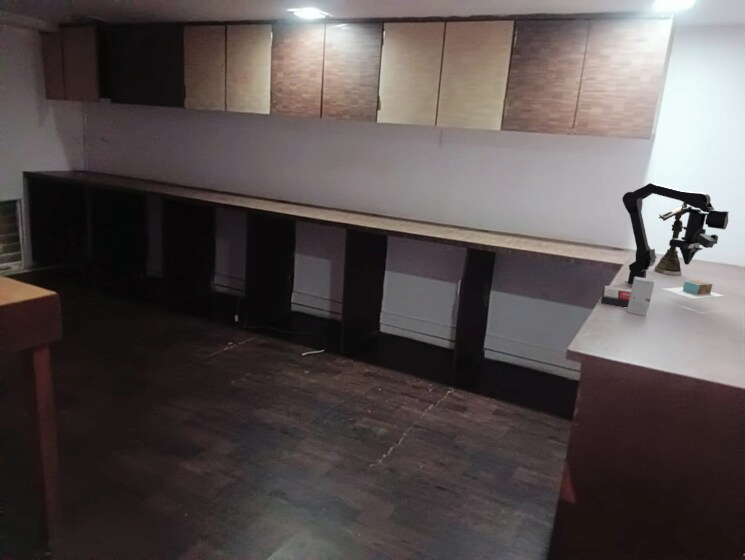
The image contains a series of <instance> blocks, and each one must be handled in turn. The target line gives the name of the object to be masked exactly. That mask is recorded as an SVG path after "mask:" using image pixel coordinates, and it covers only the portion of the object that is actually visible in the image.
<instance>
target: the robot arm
mask: <svg viewBox="0 0 745 560" xmlns="http://www.w3.org/2000/svg"><path fill="white" fill-rule="evenodd" d="M653 194H654V195H658V196H661V197H665V198H669V199H674V200H677V201H680V202H683V203H686V204H687V207H688V208H687V209H686V210H684V212H687V213H688V217H687V223H686V226H684V227H683V230H684V232H685V233H684V236H682V237H681V238H678V239H672V238H671V239H670V240H669V243H668V246H669V247H670V246H674V247H676V248H679V250H680V254H681V256H682V260H683V262H684V265H687V266H688V265H690V263H691V261H692V259H693V258H694V256H695V255H696V253H698V252H699V251H702V250H703V249H704V248H705V249H707V248H711V249H712V248H713V247H714V245H715V244H716V245H717V244H718V240H719V236H718V235H717V234H711V235H710V234H707V233H706V228H704V226H705V225H706V226H707V227H708V228H711V229H717V230H724V231H725V230H726V229H727V226H728V224H729V214H730V213H729V211H726V210H723V211H722V210H715V208H714V206H713V204H712V203H711V197H710V195H709V194H708V193H707V192H696V191H695V192H694V191H685V190H682V189H681V190H680V189H677V188H673V187H670V186H665V185H661V184H658V183H654V182H650V183H647V184H646V185H644V186H642V187H640V188H638V189H636V190H634V191H628V192H625V193H624V194H623V196H622V198H621V199H622V202H623V205H624V207H625V210H626V211H627V212H628V215H629V218H630V223H631V227H632V231H633V235H634V236H633V237H634V240H635V246H636V249H635V250H636V251H635V261H633V262H632V263H630V264H629V265H628V268H629V269H628V271H629V275H628V280H627V281H625V280H624V283H627V284H631V285H633V281H634V277H640V278H646V279H647V272H648V270H649V269H650V267H653V266H654V265H655V264H656V259H658V258H657V256H656V250H655V248H651V247H650V245H649V242H648V237H647V233H646V227H645V224H644V218H643V215H642V210H643V200H645V199H646V198H648V197H649V196H651V195H653ZM687 213H686V214H687ZM701 246H702V247H701ZM703 247H704V248H703Z"/></svg>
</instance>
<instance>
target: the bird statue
mask: <svg viewBox="0 0 745 560" xmlns="http://www.w3.org/2000/svg"><path fill="white" fill-rule="evenodd" d="M688 207H689V206H688V204H686V203H684V202H683V203H682V205H680V207H677V208H675V209H674V210H668V211H667V212H665V213H662V214H661V213H659V214H658V215H659V217H658V219H661V220H662V221H663V222H665V221H668V219H670V218H673V217H674V219H675V221H673V223H672V224H671V231H672V237H671V239H679V236H680V233H681V232H683V230H684V227H685V226H684V224H683V221H682V220H681V218H682V216H683V215H685V214H687V212H684V210H686V209H687V208H688ZM678 253H679V251H678V250H677V247H674V246H670V245H669V248H668V249H667V250H666V252H665V254H664V255H663V256H662V257H661V258H660V260H659V261H658V263H657V264H656V265H655V267H654V272H656V273H657V272H658V273H661V274H664V275H670V276H682V268H681V261H680V259H679V256H678V255H679V254H678Z"/></svg>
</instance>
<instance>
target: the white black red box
mask: <svg viewBox="0 0 745 560" xmlns="http://www.w3.org/2000/svg"><path fill="white" fill-rule="evenodd" d="M631 290H632V289H628V288H623V287H618V286H617V287H616V286H612V285H611V286H609V285H604V286H603V287H602V292H601V301H600V302H601V303H600V304H602V305H609V306H613V305H614V307H618V306H620V307H619V308H624V307H627V308H628V303H629V299H630V294H631ZM627 308H626V309H627Z"/></svg>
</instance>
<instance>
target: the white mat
mask: <svg viewBox="0 0 745 560" xmlns="http://www.w3.org/2000/svg"><path fill="white" fill-rule="evenodd" d="M683 287H684V286H681V287H669V288H666V287H664V288H662V290H663V291H667V292H670V293H673V294H677V295H679V296H682V297H686V298H689V299H692V300H695V299H705V298H716V297H717V298H718V297H724V295H723V294H719V293H718V292H717V293H716V292H712V291H711V293H709V294H698V295H696V294H693V293H689V292H686V291H683Z"/></svg>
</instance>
